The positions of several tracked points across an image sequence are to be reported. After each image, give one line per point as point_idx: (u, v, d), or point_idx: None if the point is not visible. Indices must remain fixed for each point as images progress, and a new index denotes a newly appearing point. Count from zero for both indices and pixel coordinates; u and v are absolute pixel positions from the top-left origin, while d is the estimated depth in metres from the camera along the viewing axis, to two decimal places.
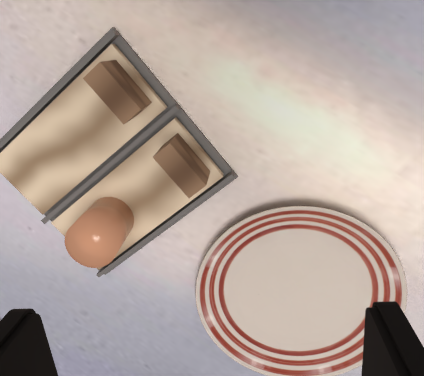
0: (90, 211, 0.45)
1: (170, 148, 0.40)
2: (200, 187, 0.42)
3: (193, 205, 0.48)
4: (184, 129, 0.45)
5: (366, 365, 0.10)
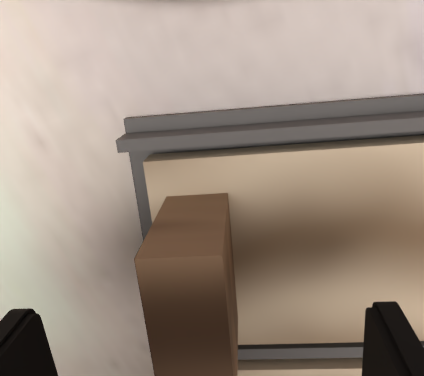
0: None
1: None
2: (157, 264, 0.11)
3: (279, 133, 0.15)
4: None
5: (366, 365, 0.10)
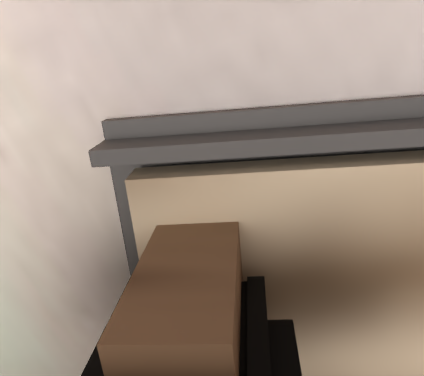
0: None
1: None
2: (132, 354, 0.07)
3: (310, 142, 0.11)
4: None
5: None
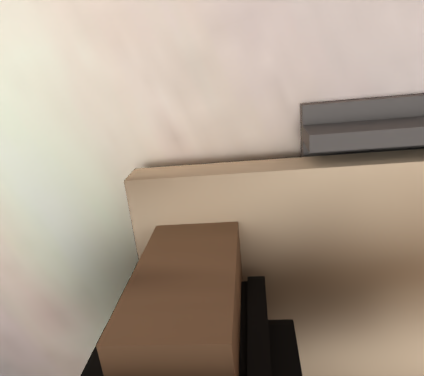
0: None
1: None
2: (131, 354, 0.07)
3: None
4: None
5: None
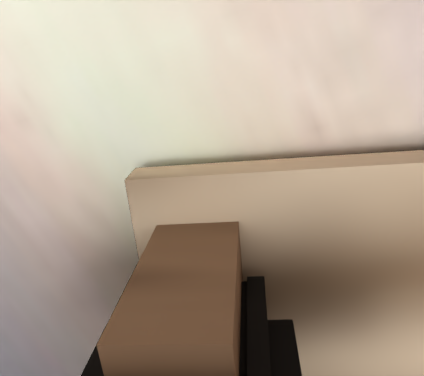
0: None
1: None
2: (132, 354, 0.07)
3: None
4: None
5: None
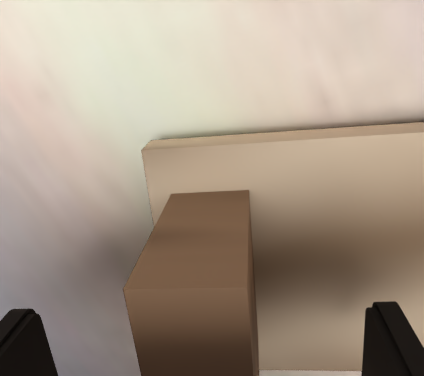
0: None
1: None
2: (155, 297, 0.08)
3: None
4: None
5: (366, 365, 0.10)
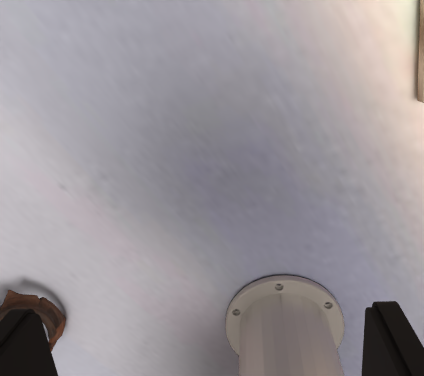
0: None
1: None
2: None
3: None
4: (421, 79, 0.30)
5: (366, 365, 0.10)
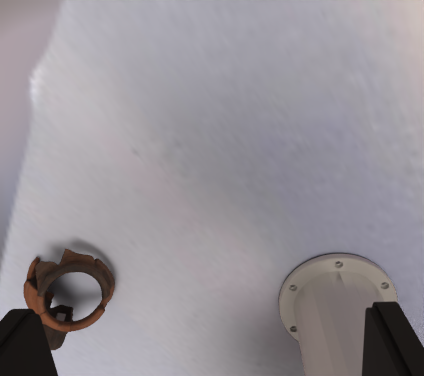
0: None
1: None
2: None
3: None
4: None
5: (366, 365, 0.10)
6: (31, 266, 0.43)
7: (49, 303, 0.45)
